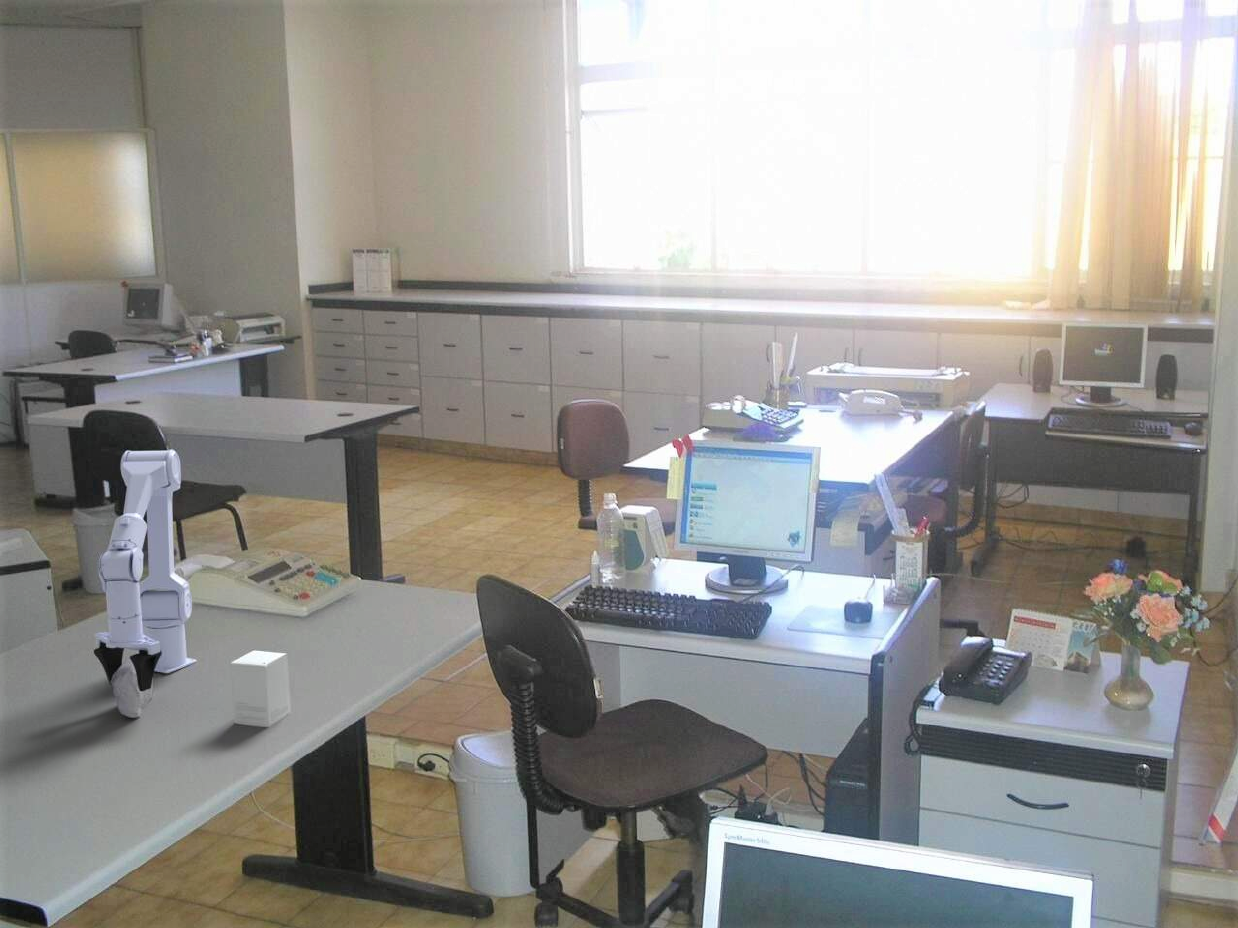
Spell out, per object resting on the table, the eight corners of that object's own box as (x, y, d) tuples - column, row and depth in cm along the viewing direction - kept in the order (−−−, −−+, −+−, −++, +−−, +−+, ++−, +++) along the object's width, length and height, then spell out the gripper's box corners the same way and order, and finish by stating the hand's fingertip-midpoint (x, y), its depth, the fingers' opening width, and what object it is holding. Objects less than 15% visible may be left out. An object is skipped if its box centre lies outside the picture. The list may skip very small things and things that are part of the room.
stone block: (129, 703, 237) (126, 652, 235) (155, 703, 237) (153, 652, 235) (109, 727, 225) (106, 674, 223) (137, 727, 225) (134, 673, 224)
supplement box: (293, 719, 228) (289, 652, 226) (269, 734, 221) (264, 665, 219) (258, 715, 230) (254, 649, 228) (233, 729, 224) (229, 661, 221)
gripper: (78, 615, 227) (84, 687, 230) (135, 625, 221) (141, 699, 223) (110, 605, 234) (115, 675, 236) (166, 615, 227) (172, 686, 229)
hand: (130, 686), depth 230 cm, fingers open, 7 cm apart
